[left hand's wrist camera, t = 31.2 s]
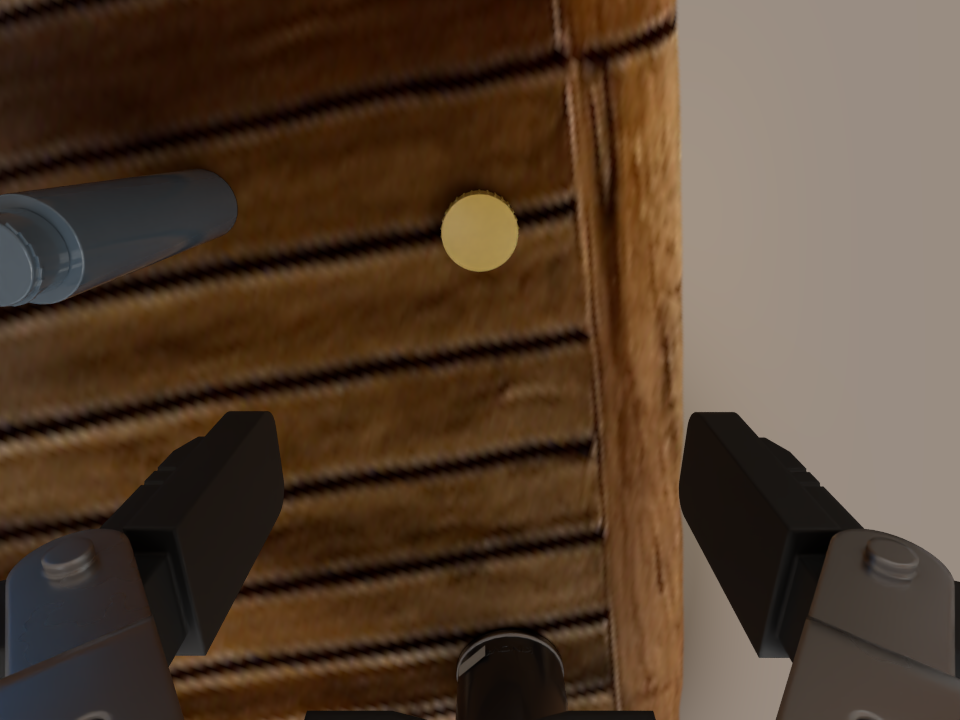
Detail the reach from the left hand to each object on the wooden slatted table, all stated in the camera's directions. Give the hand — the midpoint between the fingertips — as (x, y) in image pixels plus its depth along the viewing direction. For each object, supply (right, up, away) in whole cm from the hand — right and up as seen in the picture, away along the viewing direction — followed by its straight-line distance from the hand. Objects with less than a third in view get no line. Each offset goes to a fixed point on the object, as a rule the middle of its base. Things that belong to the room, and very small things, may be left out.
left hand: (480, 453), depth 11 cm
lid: (0, +10, +24) cm, 26 cm away
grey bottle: (-18, +12, +25) cm, 33 cm away
